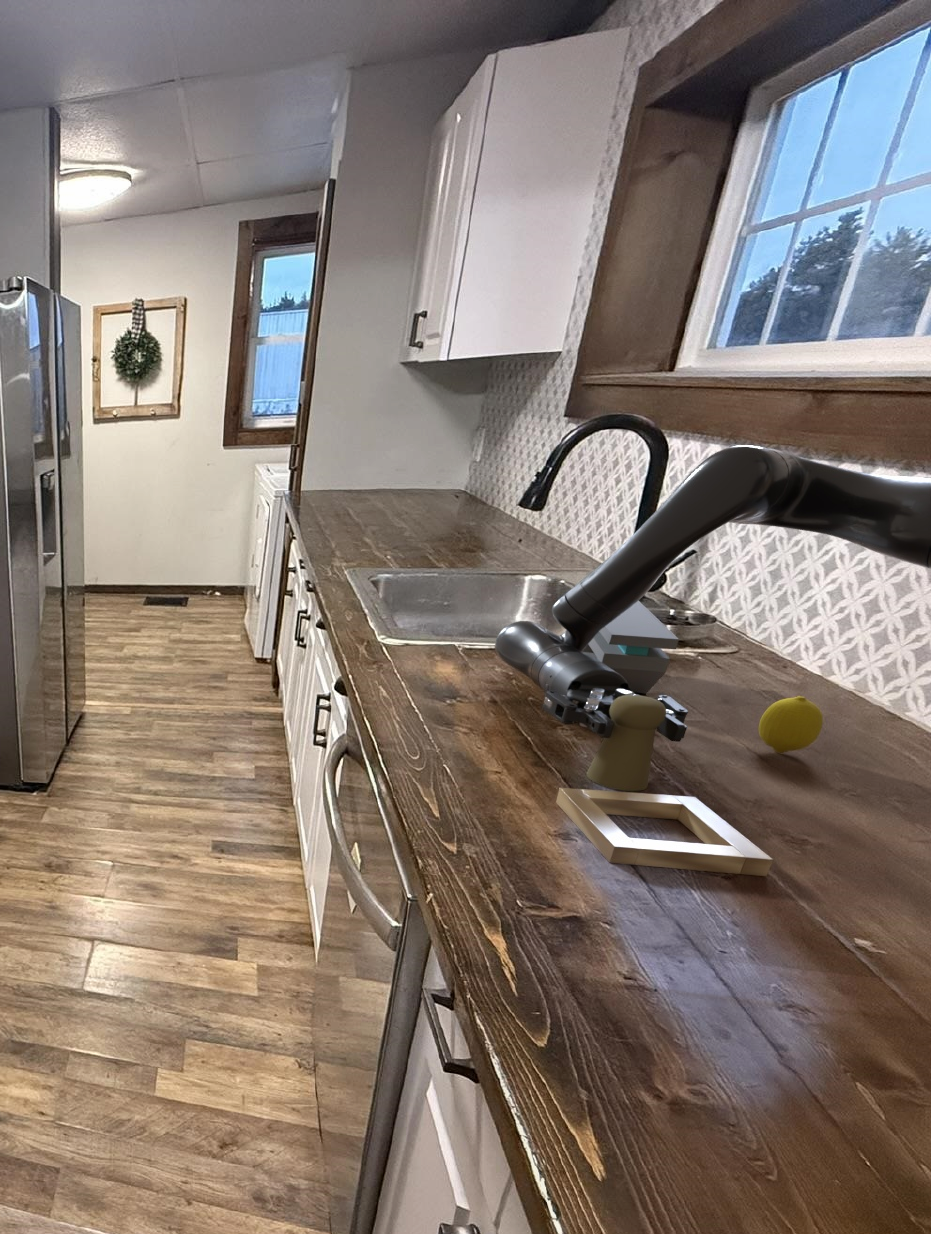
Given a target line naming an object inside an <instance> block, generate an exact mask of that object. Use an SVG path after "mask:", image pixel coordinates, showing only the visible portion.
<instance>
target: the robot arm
mask: <svg viewBox="0 0 931 1234" xmlns="http://www.w3.org/2000/svg"><path fill="white" fill-rule="evenodd" d="M728 523H730V524H739V525H740V524H741V525H757V526H767V527H775V528H785V529H791V530H798V531H803V532H812V533H816V534H823V535H827V536H831V537H835V538H839V539H841V540H844V541H846V542H847V541H848V542H849V543H852V544H854V545H857V546H860V547H861V548H865V549H867V550H870V551H872V552H875V553H878V554H879V555H883V556H886V557H889V558H892V559H895V560H898V561H901V562H904V563H907V564H912V565H916V566H919V567H921V568H922V567H923V568H926V569H930V570H931V477H930V476H906V475H905V476H903V475H902V476H900V475H883V474H882V475H881V474H874V473H873V474H872V473H866V472H860V471H856V470H852V469H846V468H843V467H838V466H835V465H831V464H827V463H823V462H820V461H815V460H811V459H808V458H804V457H801V456H798V455H795V454H793V453H790V452H786V451H782V450H779V449H774V448H770V447H765V446H759V445H751V444H750V445H749V444H745V445H735V446H730V447H726V448H723V449H721V450H719V451H716V452H714V453H713V454H711V455H710V456H708V457H706V458H705V459H703V461H701V462H700V463H699V464H698V465H697V466H696V467H694V469H693V470H692V471H691V472H690V473H689V474H688V475H687V476H686V477H685V479H683V481H682V482H681V483H680V484H678V486H677V487H676V488H675V489H674V490H673V492H672V493H671V494H670V495H669V496H668V497H667V498H666V500H665V501H664V502H662V504H661V505H660V506H659V507H658V508H657V509H656V510H655V511H654V512H653V514H651V515H650V517H649V518H648V519H647V520H646V521H644V523H643V524H642V525H641V526H639V528H638V529H637V530H636V531H635V532H634V533H633V534H632V535H631V536H630V537H629V538H628V539H627V540H626V541H625V542H624V543H623V544H622V545H620V547H619V548H618V549H617V550H615V552H614V553H612V554H611V555H609V557H608V558H606V559H605V560H604V561H603V562H602V563H601V564H599V565H598V566H597V567H596V568H595V569H593V570H592V571H591V572H590V573H588V574H587V575H586V576H585V577H584V578H583V579H582V580H580V581H579V582H577V584H576V585H574V586H573V587H572V588H571V589H569V590H568V591H567V592H566V593H564V594H563V595H562V596H561V597H560V598H559V599H558V600H557V601H555V603H554V604H553V605H552V607H551V614H552V616H553V618H554V619H555V621H556V622H557V623H558V624H559V625H560V626H561V627H562V628H564V630H565V631H564V632H563V633H561V634H560V635H559V634H557V633H555V632H553V631H551V630H550V629H548V628H546V627H544V626H543V625H540V624H538V623H536V622H534V621H530V620H518V621H515V622H512V623H509V624H508V625H506V626H505V627H504V628H502V629H501V631H500V632H499V633H498V635H497V636H496V639H495V642H494V650H495V653H496V656H497V657H498V658H499V659H500V660H501V661H502V662H504V663H505V664H507V665H508V666H509V667H511V668H513V669H515V670H516V671H518V672H519V673H522V674H524V676H526V677H528V678H529V679H530V680H532V682H533V683H534V684H535V685H536V686H538V687H539V688H540V689H541V690H542V691H543V692H544V693H545V695H544V699H543V703H542V707H541V710H543V711H544V712H545V713H547V714H548V715H550V716H551V717H553V718H554V719H556V720H557V721H558V722H560V723H561V724H564V725H566V726H572V725H573V724H574V723H579V726H580V727H583V728H588V729H589V730H590V731H591V732H592V733H595V734H596V735H598V736H599V737H600V738H601V739H602V738H603V739H604V738H610V737H611V734H612V730H613V727H614V722H613V721H612V719H611V717H610V713H609V710H610V706H611V704H612V703H613V701H614V700H615V699H617V698H618V697H620V696H624V695H639V696H641V695H640V694H638V693H633V692H631V690H630V687H629V685H628V683H627V681H626V680H625V678H624V677H623V676H622V675H620V674H619V673H617V672H616V671H614V670H613V669H611V668H610V667H608V666H607V665H605V664H603V663H602V662H600V661H599V660H597V659H596V658H594V657H591V656H589V655H586V654H584V653H583V652H582V651H583V650H584V648H585V647H586V646H587V645H588V644H589V642H590V641H591V640H592V639H593V638H594V637H595V635H596V634H597V633H598V632H599V631H600V630H601V629H602V628H604V627H605V626H607V625H608V624H609V623H610V622H612V621H613V620H614V619H616V618H617V617H618V616H620V615H621V614H622V613H624V612H625V611H626V610H628V609H629V608H630V607H631V606H633V605H634V604H635V603H636V602H637V601H638V600H639V601H640V600H641V599H642V598H643V597H644V596H645V595H646V594H647V593H648V592H649V591H650V590H651V588H652V587H653V586H654V585H655V584H656V582H657V581H658V579H660V577H661V576H662V574H663V573H664V572H665V571H666V570H667V569H668V567H669V566H670V565H671V564H672V563H673V562H674V561H675V560H676V559H678V557H679V556H680V555H682V554H683V553H684V552H685V551H686V550H688V549H689V548H690V547H691V546H693V545H694V544H696V543H697V542H698V541H700V540H701V539H703V538H704V537H706V536H707V535H709V534H711V533H713V532H714V531H716V530H718V529H719V528H721V527H722V526H724V525H726V524H728ZM656 700H658V701H660V702H661V703H663V704H664V706H665V708H666V716H665V719H664V720H663V722H662V723H661V725H659V726H658V727H656V728H655V731H657V732H658V734H659V733H660V735H662V736H663V737H664V738H666V739H668V740H669V741H670V742H679V743H680V742H681V741H682V739H684V738H685V736H686V732H687V729H688V725H686V724H685V721H686V718H687V716H688V713H689V710H687V708H685V707H684V706H683V705H681V704H680V703H678V702H677V701H676V700H675V699H673V698H672V697H671V696H669V695H666V694H660V695H658V697H657V699H656Z"/></svg>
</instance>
